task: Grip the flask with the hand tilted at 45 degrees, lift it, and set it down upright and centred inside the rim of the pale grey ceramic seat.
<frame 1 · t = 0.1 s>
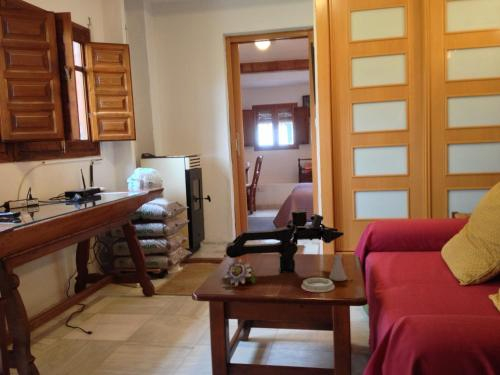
hand: (340, 231, 196), 17 cm above the table, tool horizontal, fingers open, 9 cm apart
passion flower: (240, 283, 179), on the table
shaker seat: (317, 287, 170), on the table
flask: (338, 279, 180), on the table
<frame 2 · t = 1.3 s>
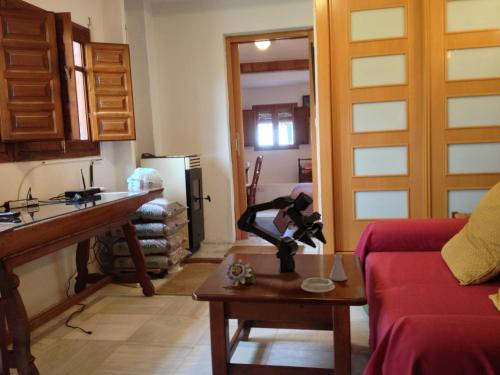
hand: (320, 245, 184), 13 cm above the table, tool tilted 45°, fingers open, 9 cm apart
nothing on the table moved.
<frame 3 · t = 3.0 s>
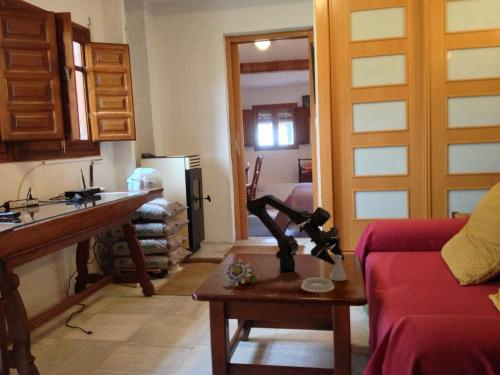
hand: (339, 261, 179), 7 cm above the table, tool tilted 45°, fingers open, 9 cm apart
nothing on the table moved.
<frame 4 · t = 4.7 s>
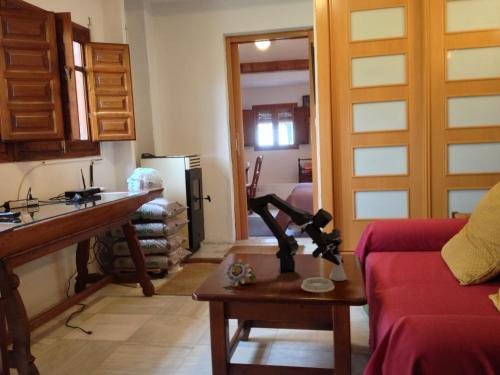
hand: (341, 263, 179), 7 cm above the table, tool tilted 45°, fingers closed on flask, 3 cm apart
flask: (338, 279, 180), on the table, touching gripper
everything else where it was.
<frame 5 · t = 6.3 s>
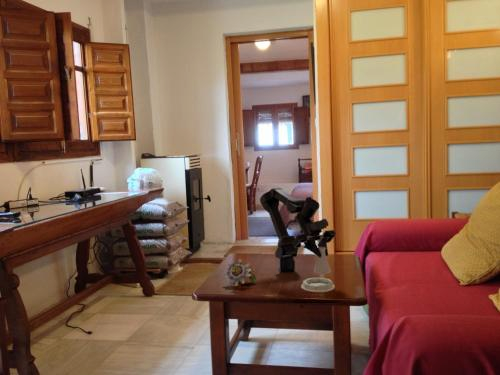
hand: (324, 256, 170), 12 cm above the table, tool tilted 45°, fingers closed on flask, 3 cm apart
flask: (322, 272, 171), point 5 cm above the table, touching gripper
everything else where it was.
when the fingers open (9 cm above the table, at t = 8.0 s): flask stays where it is, resting on shaker seat.
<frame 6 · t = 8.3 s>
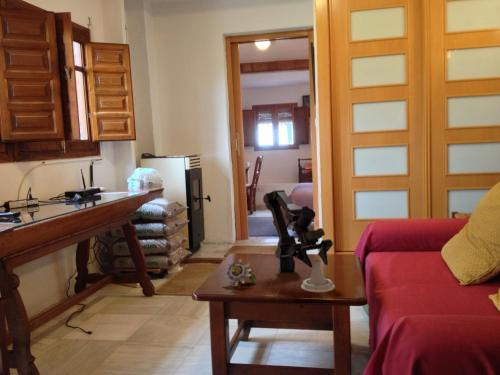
hand: (319, 265, 168), 9 cm above the table, tool tilted 45°, fingers open, 7 cm apart
flask: (317, 285, 171), resting on shaker seat
everything else where it was.
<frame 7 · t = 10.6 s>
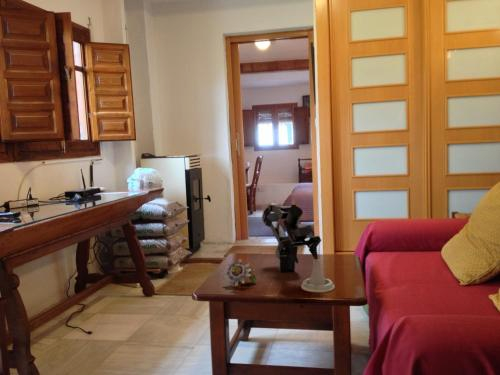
hand: (307, 261, 176), 9 cm above the table, tool tilted 45°, fingers open, 9 cm apart
nothing on the table moved.
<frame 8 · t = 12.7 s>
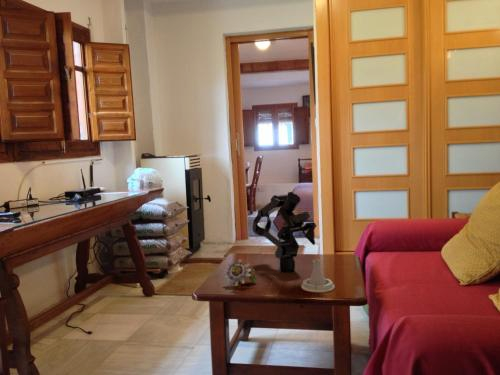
hand: (306, 245, 183), 14 cm above the table, tool tilted 45°, fingers open, 9 cm apart
nothing on the table moved.
at the end: flask 0.2 cm off-centre on the shaker seat, point 0.4 cm above the shaker seat's base; flask tilted 0°; the gripper is holding nothing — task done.
